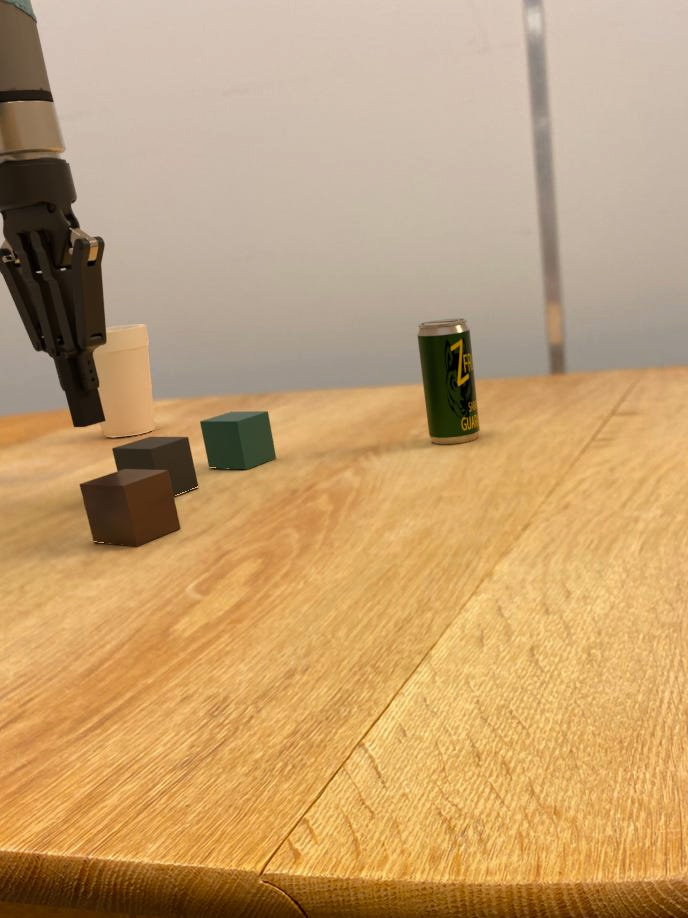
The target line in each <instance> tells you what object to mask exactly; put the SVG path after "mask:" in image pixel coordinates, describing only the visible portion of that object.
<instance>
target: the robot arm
mask: <svg viewBox="0 0 688 918" xmlns="http://www.w3.org/2000/svg"><path fill="white" fill-rule="evenodd" d="M38 29H39V28H38V19H37V16H36V14H35V12H34V9H33V5H32V2H31V0H0V214H1V218H2V235H3V237H4V241H3V243H2V244H1V246H0V274H1V275H2V277H3V280H4V282H5V284H6V286H7V289H8V292H9V294H10V296H11V298H12V301H13V304H14V306H15V307H16V310H17V312H18V315H19V318H20V319H21V322H22V324H23V326H24V329H25V331H26V333H27V336H28V339H29V341H30V343H31V345H32V348H33V350H35V352H38V353H39V352H44V353H46V354H48V356H49V358H51V359H53V362H54V367H55V370H56V374H57V377H58V381H59V386H60V388H61V390H62V391H63V392H64V394H65V397H66V403H67V406H68V409H69V413H70V417H71V422H72V425H73V428H87V427H90V426H94V425H97V424H100V422H104V421H106V420H105V416H104V412H103V408H102V404H101V400H100V396H99V391H98V388H99V378H98V374H97V372H96V371H97V370H96V366H95V362H94V358H93V352H94V351H95V349H96V348H98V347H99V346H101V345H105V344H106V341H107V338H106V325H107V324H106V312H105V311H106V310H105V298H104V296H105V295H104V284H103V271H102V262H103V256H104V251H105V248H106V247H105V245H106V244H105V240H104V239H103V237H101V236H99V235H98V236H90V235H89V234H88V233H86V232H84V230H82V229H81V225H80V222H79V221H80V220H78V218H77V217H76V215H75V212H74V211H73V208H72V204H75V203H76V202H77V199H78V195H77V191H76V187H75V182H74V178H73V174H72V173H73V172H72V170H71V165H70V163H69V162H67V160H66V159H64V158H61V154H64V153H65V152H66V150H67V147H66V142H65V138H64V135H63V131H62V127H61V123H60V119H59V115H58V111H57V107H56V104H55V100H54V96H53V93H52V90H51V85H50V80H49V75H48V71H47V67H46V61H45V57H44V52H43V47H42V43H41V39H40V33H39V30H38Z"/></svg>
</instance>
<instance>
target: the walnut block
mask: <svg viewBox="0 0 688 918" xmlns="http://www.w3.org/2000/svg"><path fill="white" fill-rule="evenodd" d="M78 485H79V488H80V492H81V497H82V500H83V505H84V509H85V511H86V516H87V517H86V518H87V521H88V525H89V529H90V532H91V537H92V540H93V542H94V541H97V542H104V543H111V544H110V545H113V544H123V545H122V546H126V545H130V546H129V547H139V546H142V545H144V544H147V543H149V542H151V541H154V540H156V539H158V537H159V538H162V537H164V536H166V535H168V534H171V533H173V532H176V531H178V530H180V529H181V524H180V519H179V518H180V517H179V514H178V509H177V503H176V501H175V500H176V499H175V497H174V495H173V490H172V486H171V481H170V476H169V472H168V470H145V469H123V470H120V471H117V470H116V471H115V472H111V473H108V474H105V475H101V476H99V477H97V478H94V479H90V480H87V481H84V482H82V483H79V484H78ZM170 532H171V533H170ZM153 539H154V540H153ZM146 542H147V543H146ZM131 545H132V546H131Z"/></svg>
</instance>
